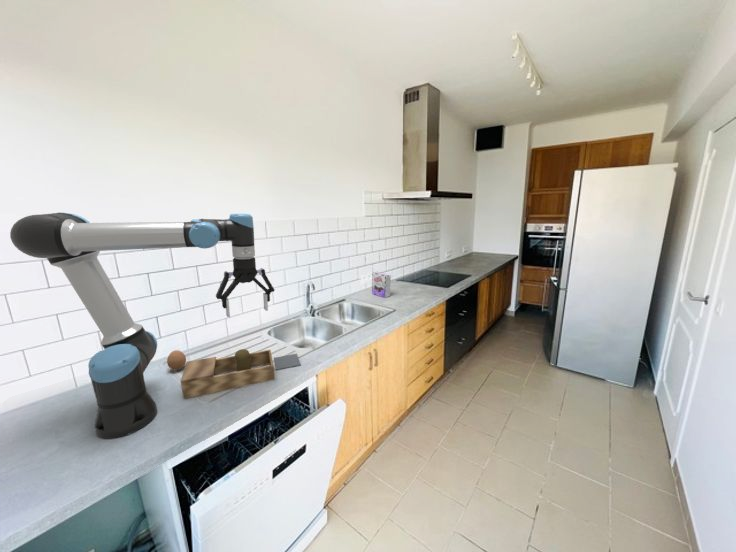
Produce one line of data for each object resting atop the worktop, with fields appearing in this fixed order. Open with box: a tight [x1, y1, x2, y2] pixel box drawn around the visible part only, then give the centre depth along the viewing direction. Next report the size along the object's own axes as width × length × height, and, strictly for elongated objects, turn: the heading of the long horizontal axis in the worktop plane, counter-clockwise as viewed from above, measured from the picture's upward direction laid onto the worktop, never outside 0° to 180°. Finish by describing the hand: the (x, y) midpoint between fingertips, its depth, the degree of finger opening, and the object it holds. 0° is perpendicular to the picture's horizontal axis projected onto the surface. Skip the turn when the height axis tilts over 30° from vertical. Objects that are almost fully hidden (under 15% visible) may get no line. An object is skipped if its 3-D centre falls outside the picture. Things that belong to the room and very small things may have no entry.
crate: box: [180, 349, 276, 399], centre depth 115 cm, size 31×14×7 cm, turn 113°
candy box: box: [371, 271, 392, 299], centre depth 217 cm, size 14×6×16 cm, turn 43°
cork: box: [234, 348, 252, 372], centre depth 116 cm, size 6×6×11 cm
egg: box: [166, 349, 187, 371], centre depth 121 cm, size 6×6×8 cm
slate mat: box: [273, 353, 302, 371], centre depth 128 cm, size 10×10×1 cm
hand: (247, 312), depth 112 cm, fingers open, 13 cm apart
